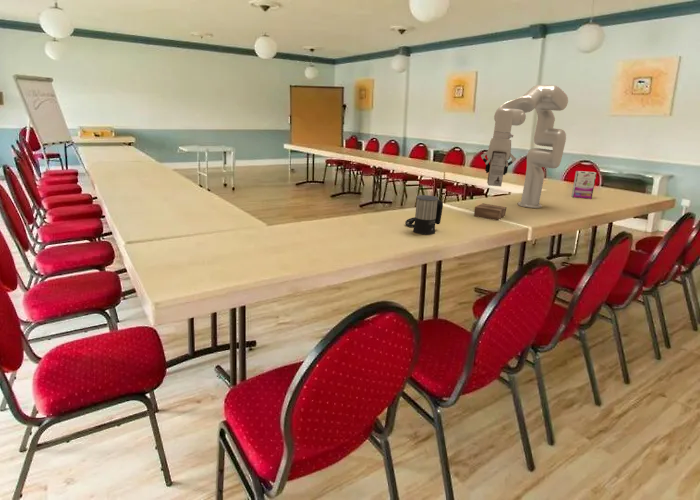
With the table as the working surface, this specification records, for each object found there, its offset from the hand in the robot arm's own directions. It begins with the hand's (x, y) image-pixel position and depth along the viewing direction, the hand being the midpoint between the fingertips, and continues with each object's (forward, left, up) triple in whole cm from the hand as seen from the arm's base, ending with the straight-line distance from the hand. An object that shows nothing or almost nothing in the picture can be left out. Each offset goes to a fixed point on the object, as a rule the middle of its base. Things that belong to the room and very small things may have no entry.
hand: (495, 173), depth 227 cm
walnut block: (0, 0, -22) cm, 22 cm away
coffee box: (0, 0, -6) cm, 6 cm away
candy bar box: (-95, +39, -21) cm, 105 cm away
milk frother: (+47, -21, -21) cm, 55 cm away
